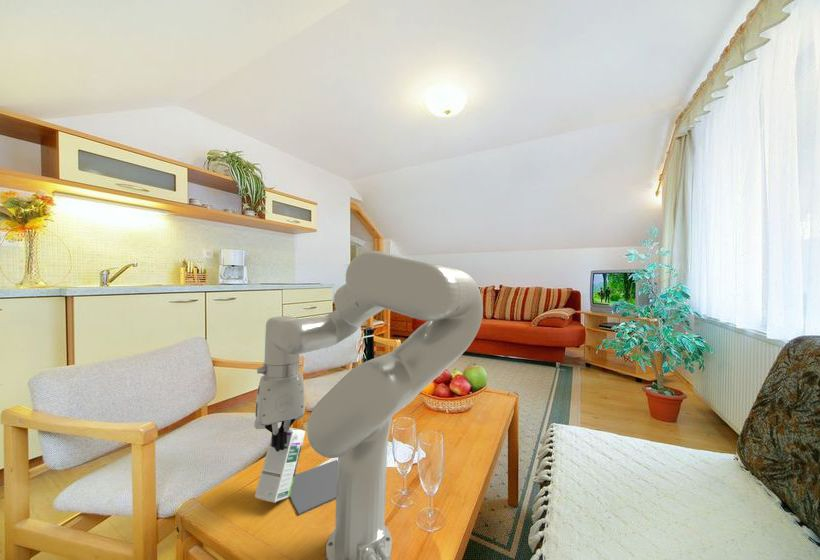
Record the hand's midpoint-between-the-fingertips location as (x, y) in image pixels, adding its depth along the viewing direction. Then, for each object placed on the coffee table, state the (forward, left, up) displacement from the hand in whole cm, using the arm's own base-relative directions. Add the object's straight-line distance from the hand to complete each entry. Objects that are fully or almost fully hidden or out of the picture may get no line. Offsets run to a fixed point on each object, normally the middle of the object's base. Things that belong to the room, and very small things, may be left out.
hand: (278, 448), depth 68 cm
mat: (0, -10, -13) cm, 16 cm away
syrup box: (+1, +1, -12) cm, 12 cm away
